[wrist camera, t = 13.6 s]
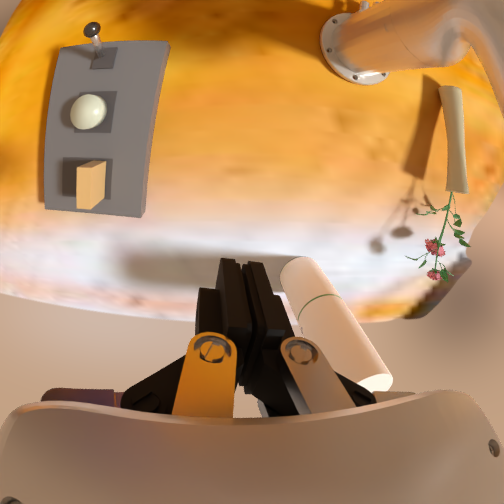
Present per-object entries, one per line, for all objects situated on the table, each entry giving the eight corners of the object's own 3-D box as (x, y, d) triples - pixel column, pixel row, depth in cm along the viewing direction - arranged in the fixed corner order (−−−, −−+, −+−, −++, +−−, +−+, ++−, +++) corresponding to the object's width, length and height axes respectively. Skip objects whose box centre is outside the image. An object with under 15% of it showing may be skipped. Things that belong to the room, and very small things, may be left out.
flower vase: (427, 103, 42) (424, 263, 50) (397, 84, 37) (395, 273, 45) (474, 100, 32) (470, 278, 40) (452, 76, 26) (449, 292, 35)
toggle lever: (97, 49, 22) (86, 19, 16) (111, 48, 23) (101, 17, 17) (92, 61, 22) (78, 31, 16) (106, 60, 23) (94, 29, 17)
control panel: (69, 51, 24) (59, 47, 21) (170, 47, 27) (167, 40, 24) (54, 203, 34) (43, 210, 31) (145, 210, 37) (139, 219, 34)
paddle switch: (93, 160, 30) (77, 167, 25) (106, 161, 30) (91, 167, 26) (91, 196, 32) (76, 208, 27) (104, 197, 32) (90, 209, 28)
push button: (79, 96, 25) (73, 95, 23) (109, 94, 26) (103, 93, 24) (75, 128, 26) (68, 129, 25) (104, 128, 27) (98, 129, 26)
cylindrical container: (283, 297, 48) (333, 419, 26) (276, 264, 45) (333, 391, 23) (321, 285, 48) (388, 396, 26) (316, 251, 45) (397, 363, 23)
